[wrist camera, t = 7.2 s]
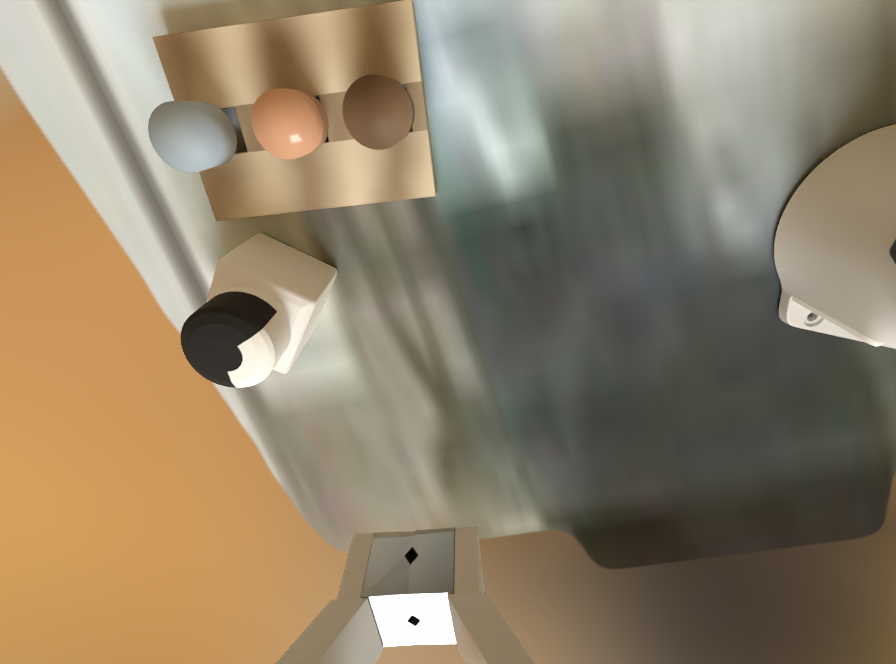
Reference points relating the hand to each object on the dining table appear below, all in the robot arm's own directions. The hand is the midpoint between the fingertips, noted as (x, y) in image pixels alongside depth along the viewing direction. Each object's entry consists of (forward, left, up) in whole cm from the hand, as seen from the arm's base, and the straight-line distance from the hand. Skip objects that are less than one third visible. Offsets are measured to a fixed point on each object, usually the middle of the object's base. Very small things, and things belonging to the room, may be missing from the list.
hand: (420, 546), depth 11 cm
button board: (+12, -3, -29) cm, 32 cm away
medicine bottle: (+11, +10, -29) cm, 33 cm away
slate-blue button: (+18, -1, -27) cm, 32 cm away
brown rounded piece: (+7, -6, -27) cm, 29 cm away
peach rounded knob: (+12, -3, -28) cm, 31 cm away
